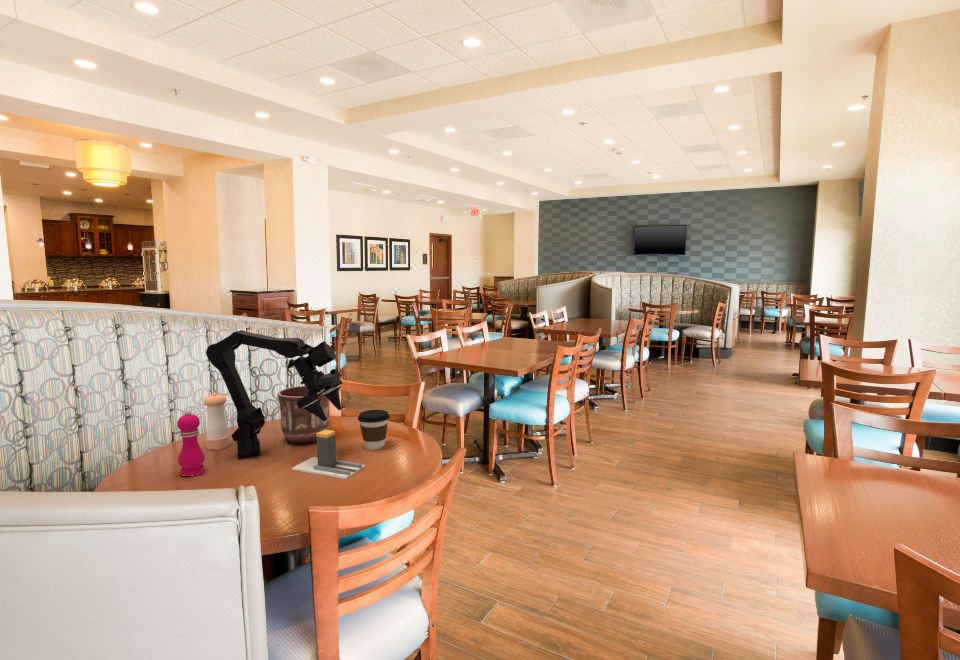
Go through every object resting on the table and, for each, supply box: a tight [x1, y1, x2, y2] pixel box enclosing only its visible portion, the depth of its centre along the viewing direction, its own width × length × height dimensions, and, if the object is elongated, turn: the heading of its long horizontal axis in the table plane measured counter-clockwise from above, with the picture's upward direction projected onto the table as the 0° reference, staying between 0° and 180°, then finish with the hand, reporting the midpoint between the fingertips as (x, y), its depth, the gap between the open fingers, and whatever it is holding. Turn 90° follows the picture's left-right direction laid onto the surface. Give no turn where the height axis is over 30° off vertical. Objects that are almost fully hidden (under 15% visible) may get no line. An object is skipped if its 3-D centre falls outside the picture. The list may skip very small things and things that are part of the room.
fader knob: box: [316, 429, 337, 468], centre depth 163 cm, size 4×4×11 cm
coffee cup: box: [357, 409, 391, 451], centre depth 182 cm, size 11×11×12 cm
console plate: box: [291, 456, 366, 480], centre depth 164 cm, size 20×10×2 cm, turn 68°
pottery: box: [277, 385, 331, 445], centre depth 191 cm, size 18×18×18 cm
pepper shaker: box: [203, 392, 231, 451], centre depth 184 cm, size 7×7×19 cm
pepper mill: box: [176, 409, 206, 476], centre depth 160 cm, size 7×7×20 cm
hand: (333, 415), depth 172 cm, fingers open, 9 cm apart
